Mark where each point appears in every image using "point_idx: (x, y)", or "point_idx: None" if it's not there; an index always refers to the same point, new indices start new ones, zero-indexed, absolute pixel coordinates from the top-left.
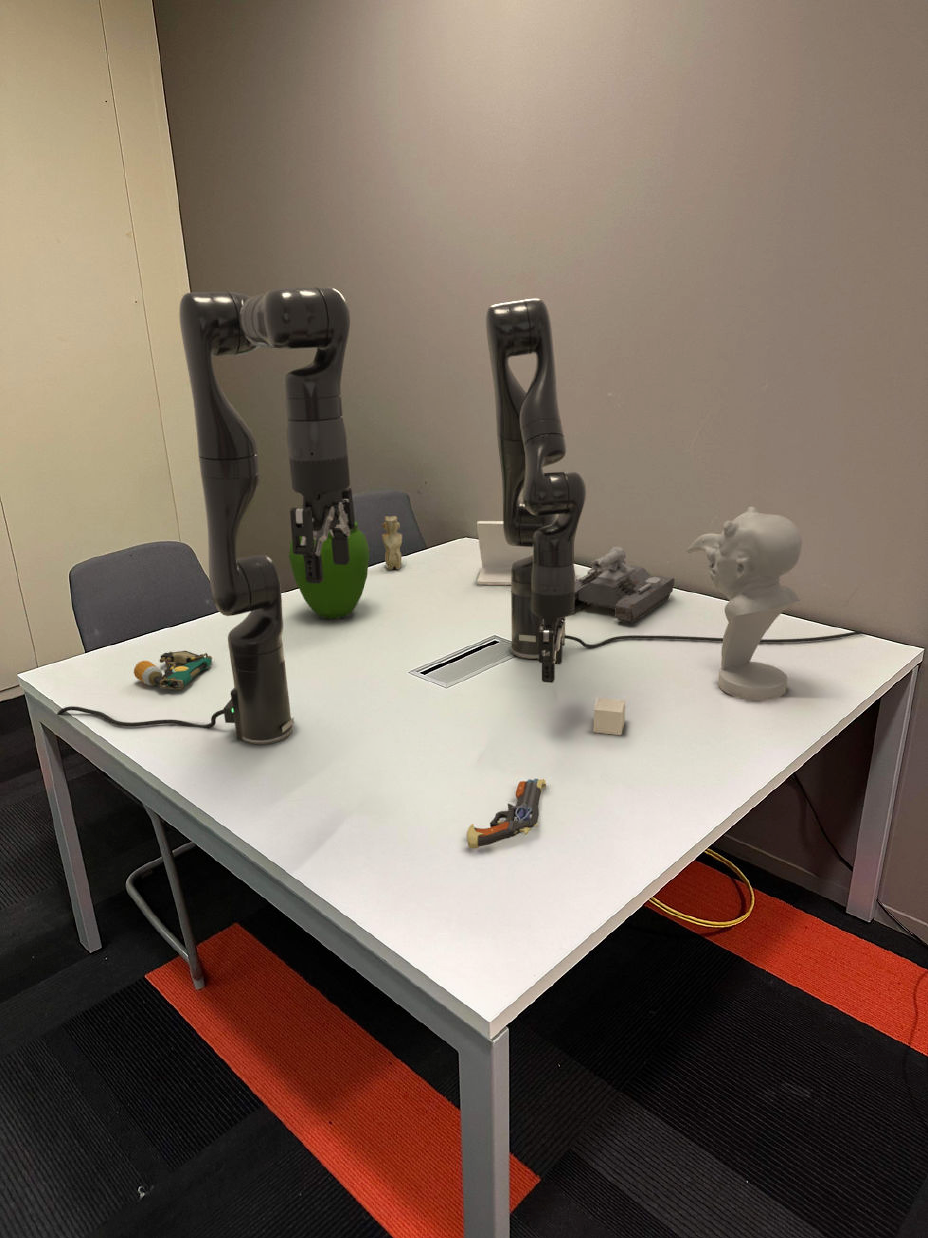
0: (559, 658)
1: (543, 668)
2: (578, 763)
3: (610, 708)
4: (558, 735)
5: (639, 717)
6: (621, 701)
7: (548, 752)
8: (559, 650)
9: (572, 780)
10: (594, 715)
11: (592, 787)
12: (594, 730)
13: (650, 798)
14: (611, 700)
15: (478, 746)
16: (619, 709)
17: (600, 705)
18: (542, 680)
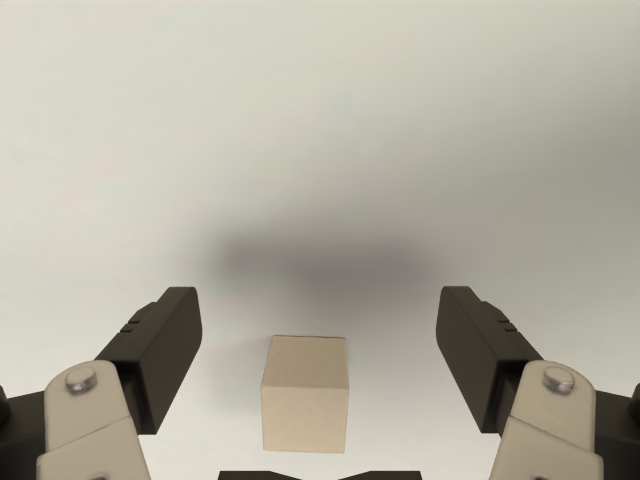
0: (447, 353)
1: (100, 352)
2: (103, 318)
3: (280, 424)
4: (230, 253)
5: (379, 421)
6: (334, 446)
7: (125, 241)
8: (468, 392)
9: (20, 314)
10: (264, 372)
11: (16, 355)
12: (271, 341)
13: None
14: (336, 424)
15: (64, 4)
16: (280, 444)
17: (294, 400)
18: (170, 289)
